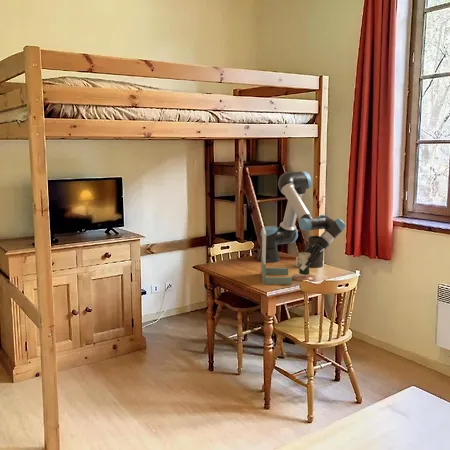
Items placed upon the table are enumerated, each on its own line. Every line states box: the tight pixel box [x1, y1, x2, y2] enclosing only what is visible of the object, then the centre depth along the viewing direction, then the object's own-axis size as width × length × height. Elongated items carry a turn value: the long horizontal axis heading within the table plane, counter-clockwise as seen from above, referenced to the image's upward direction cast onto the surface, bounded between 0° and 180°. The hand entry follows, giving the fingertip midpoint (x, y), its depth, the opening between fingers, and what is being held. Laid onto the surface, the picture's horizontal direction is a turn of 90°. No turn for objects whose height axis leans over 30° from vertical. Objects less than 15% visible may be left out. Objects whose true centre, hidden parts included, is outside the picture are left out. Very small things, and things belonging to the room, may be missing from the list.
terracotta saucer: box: [292, 273, 317, 282], centre depth 320 cm, size 14×14×1 cm
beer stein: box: [303, 235, 325, 269], centre depth 349 cm, size 15×11×20 cm
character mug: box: [295, 251, 311, 275], centre depth 319 cm, size 11×7×13 cm, turn 101°
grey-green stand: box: [260, 226, 293, 286], centre depth 316 cm, size 17×24×30 cm
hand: (299, 267), depth 318 cm, fingers closed on character mug, 7 cm apart
